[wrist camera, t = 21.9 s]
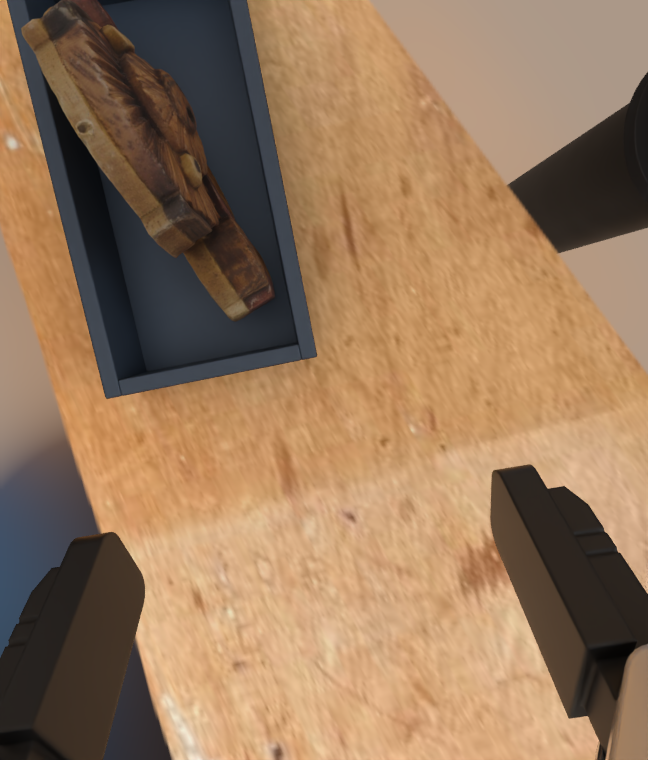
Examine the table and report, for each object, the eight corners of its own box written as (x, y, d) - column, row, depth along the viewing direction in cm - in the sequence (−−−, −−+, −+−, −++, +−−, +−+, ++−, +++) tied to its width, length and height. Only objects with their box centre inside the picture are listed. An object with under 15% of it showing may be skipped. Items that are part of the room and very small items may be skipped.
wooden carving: (304, 282, 29) (310, 258, 19) (241, 328, 29) (216, 327, 19) (126, 36, 27) (32, -133, 17) (60, 86, 27) (-73, -55, 17)
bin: (238, -22, 28) (224, -113, 22) (312, 351, 30) (317, 356, 25) (50, 9, 27) (-14, -77, 22) (140, 386, 30) (105, 399, 24)
